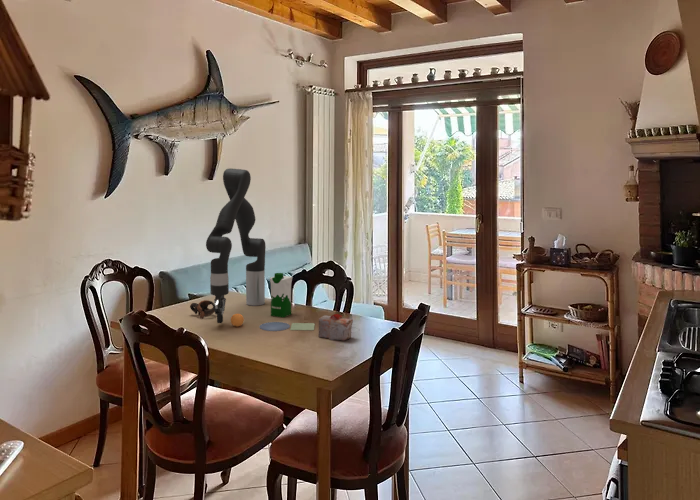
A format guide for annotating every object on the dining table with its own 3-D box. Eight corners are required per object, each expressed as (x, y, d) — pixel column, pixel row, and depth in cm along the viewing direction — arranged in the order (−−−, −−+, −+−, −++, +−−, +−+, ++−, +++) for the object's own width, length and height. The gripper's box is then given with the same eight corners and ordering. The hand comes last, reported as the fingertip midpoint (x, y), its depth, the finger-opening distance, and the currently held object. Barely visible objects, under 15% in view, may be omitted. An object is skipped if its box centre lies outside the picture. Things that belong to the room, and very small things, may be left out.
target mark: (261, 322, 227) (261, 321, 227) (291, 322, 228) (291, 322, 228) (257, 330, 214) (257, 330, 214) (288, 331, 215) (288, 330, 215)
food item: (354, 337, 209) (355, 314, 207) (347, 343, 201) (347, 318, 200) (324, 333, 214) (324, 310, 212) (315, 338, 207) (316, 314, 205)
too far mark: (291, 323, 226) (291, 323, 226) (314, 323, 227) (314, 323, 227) (290, 330, 216) (290, 329, 216) (313, 330, 217) (313, 329, 217)
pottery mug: (217, 313, 242) (219, 301, 237) (211, 327, 234) (213, 314, 229) (191, 307, 241) (193, 294, 236) (184, 320, 233) (186, 307, 228)
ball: (232, 324, 223) (231, 312, 222) (244, 324, 223) (244, 312, 223) (229, 328, 218) (229, 315, 217) (242, 328, 218) (242, 315, 217)
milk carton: (267, 316, 238) (267, 273, 235) (278, 311, 246) (278, 270, 243) (284, 318, 234) (284, 275, 231) (294, 313, 242) (294, 272, 239)
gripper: (224, 286, 211) (225, 327, 214) (231, 280, 224) (232, 318, 227) (206, 286, 211) (207, 327, 214) (214, 279, 224) (215, 318, 227)
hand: (220, 322), depth 220 cm, fingers closed
